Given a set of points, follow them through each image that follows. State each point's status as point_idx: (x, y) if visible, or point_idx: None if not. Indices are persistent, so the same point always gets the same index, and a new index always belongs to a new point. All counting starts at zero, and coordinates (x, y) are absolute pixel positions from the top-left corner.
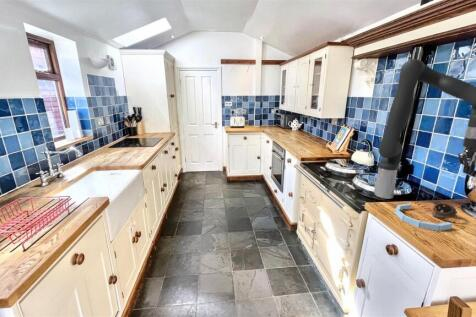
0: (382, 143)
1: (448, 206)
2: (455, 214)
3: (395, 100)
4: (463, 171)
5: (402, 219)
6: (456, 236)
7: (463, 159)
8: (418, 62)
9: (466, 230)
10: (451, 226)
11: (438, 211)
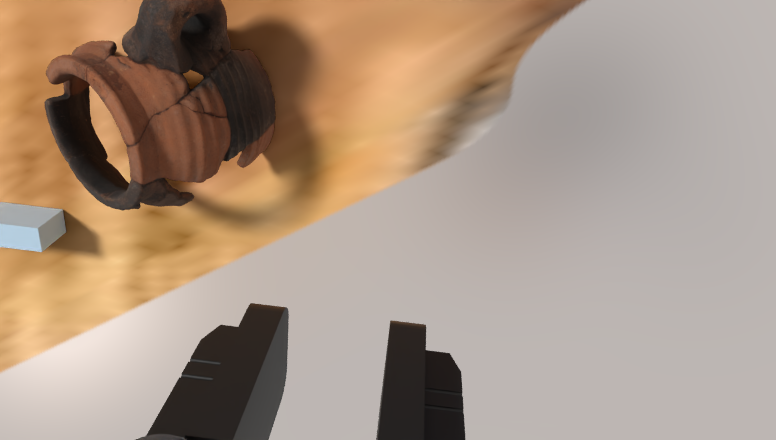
0: None
1: (202, 114)
2: (240, 157)
3: None
4: (214, 340)
5: None
6: (18, 292)
7: None
8: None
9: (151, 274)
10: (51, 241)
11: (51, 124)
